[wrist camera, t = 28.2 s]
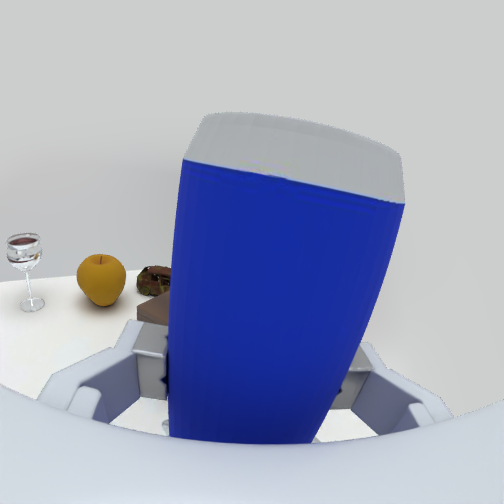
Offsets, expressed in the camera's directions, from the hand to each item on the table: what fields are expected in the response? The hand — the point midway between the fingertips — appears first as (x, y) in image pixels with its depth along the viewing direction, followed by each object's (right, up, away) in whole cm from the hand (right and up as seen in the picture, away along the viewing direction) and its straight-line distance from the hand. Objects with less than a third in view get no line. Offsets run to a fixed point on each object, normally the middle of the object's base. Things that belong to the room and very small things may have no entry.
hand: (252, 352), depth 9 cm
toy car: (-16, -5, +45) cm, 48 cm away
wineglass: (-38, -6, +31) cm, 50 cm away
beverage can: (-1, -8, +2) cm, 9 cm away
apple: (-26, -6, +38) cm, 46 cm away
